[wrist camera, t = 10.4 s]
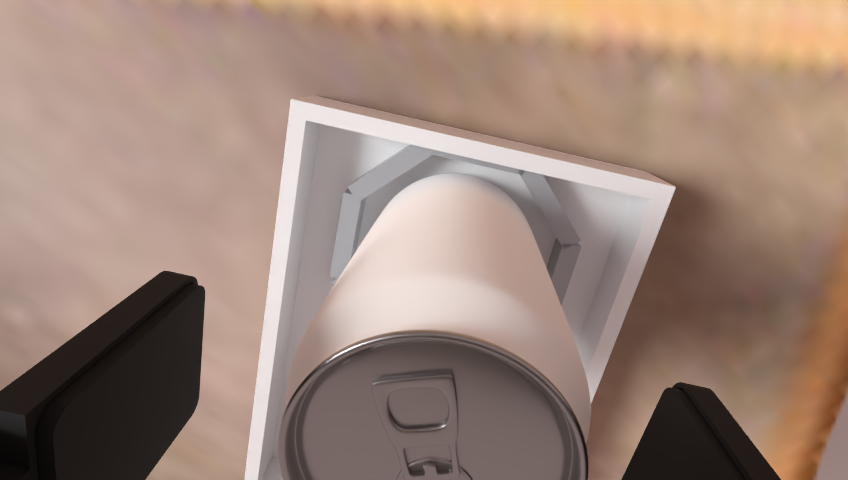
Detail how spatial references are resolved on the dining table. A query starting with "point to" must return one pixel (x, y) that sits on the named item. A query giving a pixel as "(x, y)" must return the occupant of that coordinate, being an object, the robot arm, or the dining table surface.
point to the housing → (417, 159)
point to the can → (439, 352)
